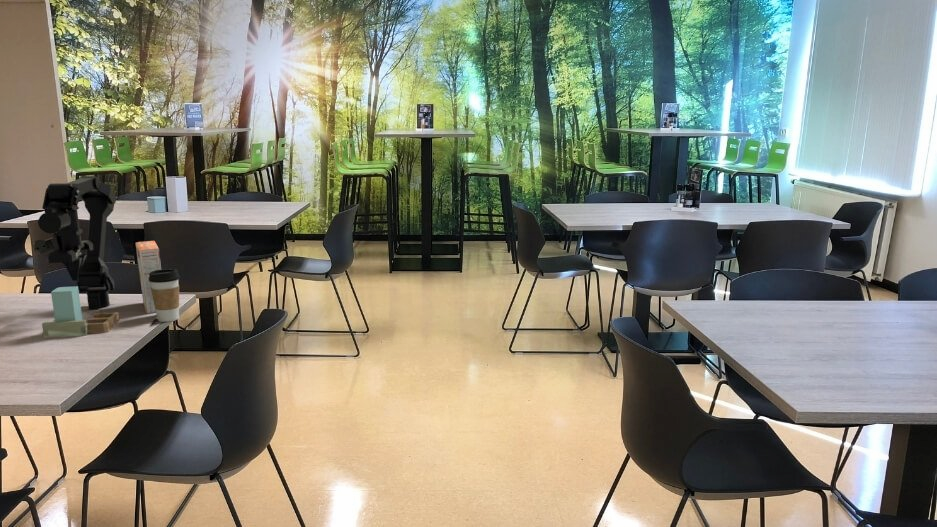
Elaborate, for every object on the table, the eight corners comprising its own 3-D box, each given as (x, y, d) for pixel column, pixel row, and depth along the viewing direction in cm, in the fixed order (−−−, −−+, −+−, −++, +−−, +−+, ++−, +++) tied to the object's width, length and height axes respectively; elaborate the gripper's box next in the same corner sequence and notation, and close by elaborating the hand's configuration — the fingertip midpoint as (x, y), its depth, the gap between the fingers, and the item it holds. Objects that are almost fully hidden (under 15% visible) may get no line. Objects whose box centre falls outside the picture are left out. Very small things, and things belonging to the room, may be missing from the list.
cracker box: (142, 305, 210) (134, 241, 205) (162, 302, 213) (155, 240, 208) (145, 316, 198) (137, 249, 193) (166, 314, 201) (159, 247, 196)
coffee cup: (168, 324, 191) (163, 274, 187) (146, 321, 194) (140, 272, 190) (189, 316, 198) (185, 268, 195) (168, 313, 201) (163, 266, 198)
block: (63, 328, 183) (58, 287, 180) (83, 327, 184) (77, 286, 181) (57, 334, 178) (50, 292, 175) (77, 333, 179) (71, 291, 176)
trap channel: (63, 325, 190) (61, 308, 189) (121, 321, 193) (119, 305, 192) (44, 341, 176) (41, 323, 175) (106, 337, 180) (104, 320, 178)
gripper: (49, 223, 193) (56, 274, 196) (21, 234, 175) (30, 290, 178) (90, 221, 195) (97, 272, 199) (67, 232, 177) (75, 287, 181)
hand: (74, 280), depth 189 cm, fingers closed
